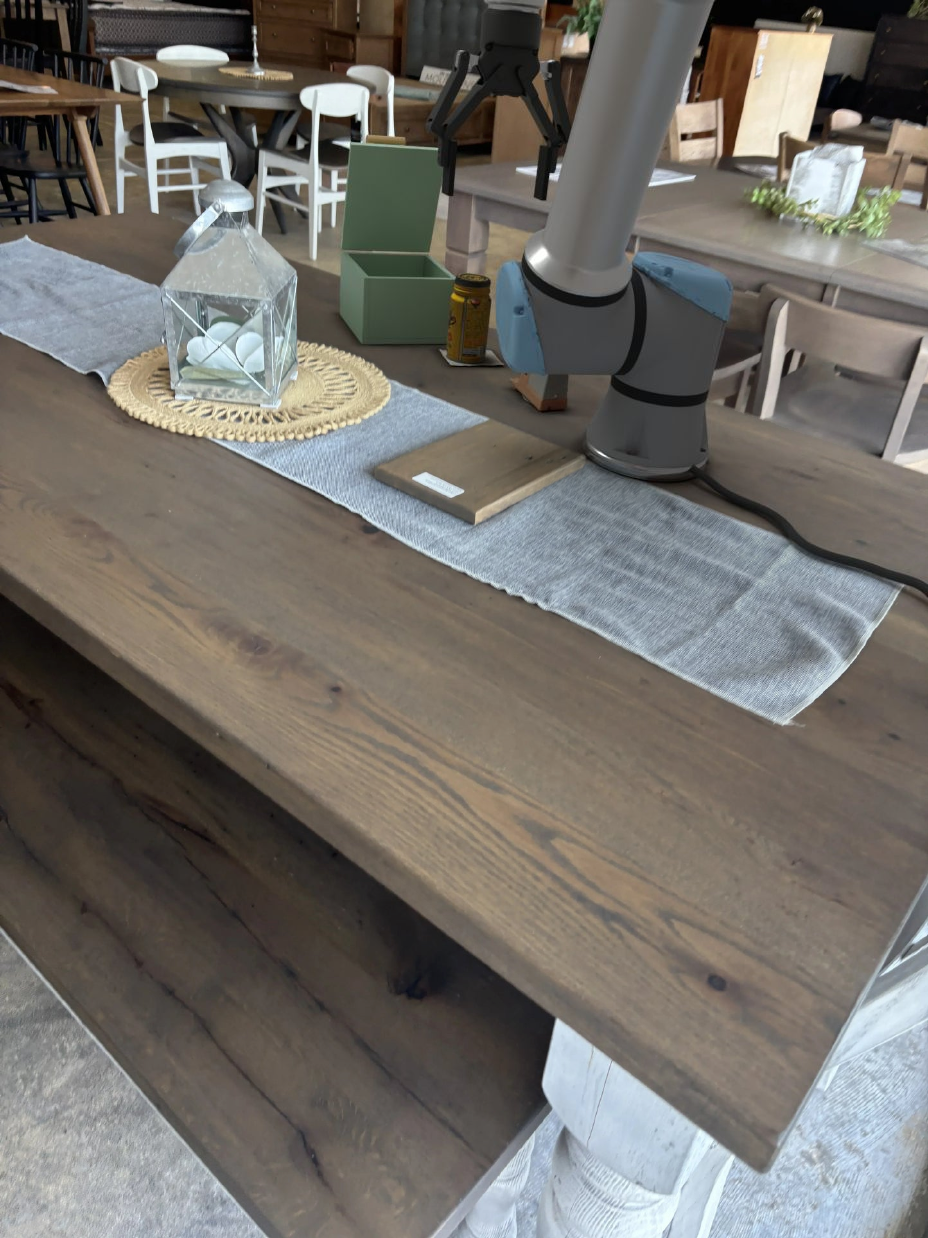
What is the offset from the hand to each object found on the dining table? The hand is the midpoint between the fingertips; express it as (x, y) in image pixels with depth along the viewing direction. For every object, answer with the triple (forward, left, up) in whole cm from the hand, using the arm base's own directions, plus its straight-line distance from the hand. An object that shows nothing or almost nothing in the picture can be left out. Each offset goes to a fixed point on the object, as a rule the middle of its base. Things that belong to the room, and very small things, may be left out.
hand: (494, 196), depth 123 cm
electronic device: (-14, -4, -24) cm, 28 cm away
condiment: (+3, 0, -24) cm, 24 cm away
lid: (+23, +8, -5) cm, 25 cm away
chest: (+18, +8, -23) cm, 30 cm away
